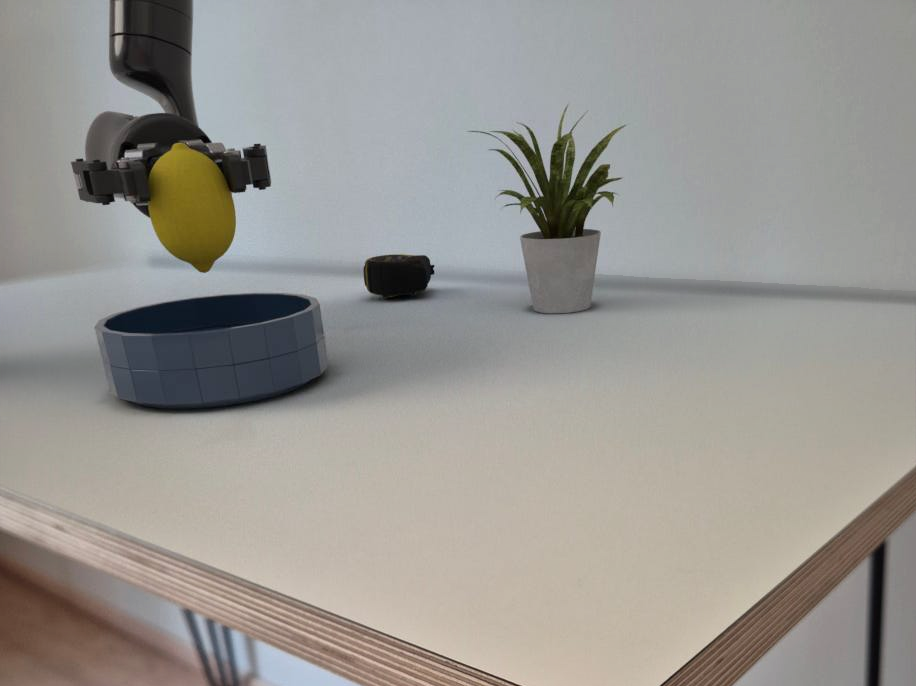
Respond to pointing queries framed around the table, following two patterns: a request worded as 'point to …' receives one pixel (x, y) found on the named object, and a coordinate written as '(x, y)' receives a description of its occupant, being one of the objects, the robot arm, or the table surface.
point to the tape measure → (397, 274)
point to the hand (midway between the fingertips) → (190, 178)
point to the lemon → (191, 207)
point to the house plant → (560, 222)
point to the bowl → (213, 349)
